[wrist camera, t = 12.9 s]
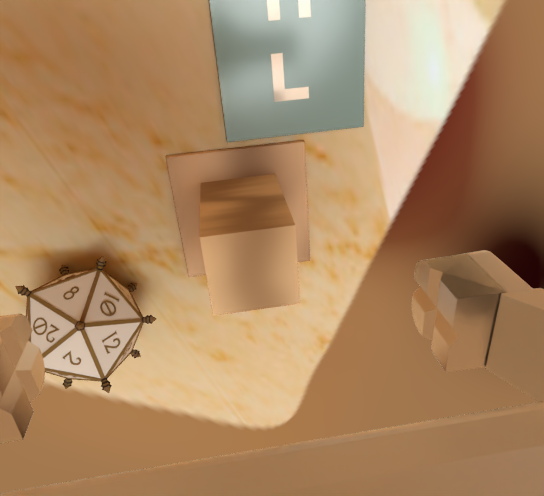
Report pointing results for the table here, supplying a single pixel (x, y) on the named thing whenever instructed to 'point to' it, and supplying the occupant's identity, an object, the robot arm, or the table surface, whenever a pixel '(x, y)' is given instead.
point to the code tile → (289, 65)
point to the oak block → (248, 245)
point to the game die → (84, 324)
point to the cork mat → (233, 165)
